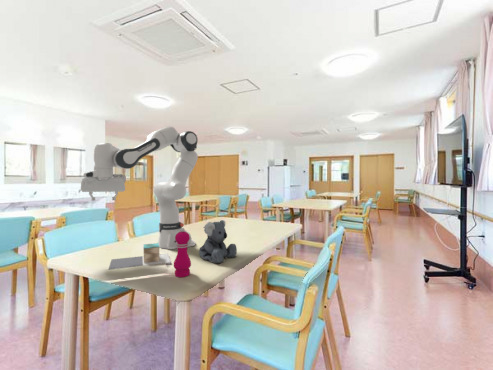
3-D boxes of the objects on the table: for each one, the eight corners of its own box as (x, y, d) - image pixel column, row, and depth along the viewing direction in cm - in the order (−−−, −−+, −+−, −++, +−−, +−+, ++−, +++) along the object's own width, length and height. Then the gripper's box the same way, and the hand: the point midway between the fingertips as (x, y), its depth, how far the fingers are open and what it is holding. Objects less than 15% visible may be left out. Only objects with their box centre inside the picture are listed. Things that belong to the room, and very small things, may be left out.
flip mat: (167, 255, 135) (167, 253, 135) (171, 264, 121) (171, 262, 121) (111, 261, 124) (111, 259, 124) (108, 271, 111) (108, 269, 111)
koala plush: (218, 265, 120) (218, 224, 119) (191, 258, 130) (191, 220, 129) (239, 256, 134) (239, 219, 134) (213, 250, 144) (213, 216, 144)
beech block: (143, 244, 126) (143, 258, 126) (143, 248, 120) (143, 262, 120) (158, 243, 129) (158, 256, 129) (159, 246, 122) (159, 260, 123)
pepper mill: (175, 271, 112) (175, 226, 111) (192, 271, 112) (192, 226, 112) (172, 278, 104) (172, 229, 104) (189, 277, 105) (189, 229, 105)
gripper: (126, 174, 139) (126, 199, 140) (82, 173, 131) (82, 200, 132) (125, 174, 134) (125, 200, 134) (79, 173, 126) (80, 201, 126)
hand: (103, 200), depth 133 cm, fingers open, 8 cm apart
